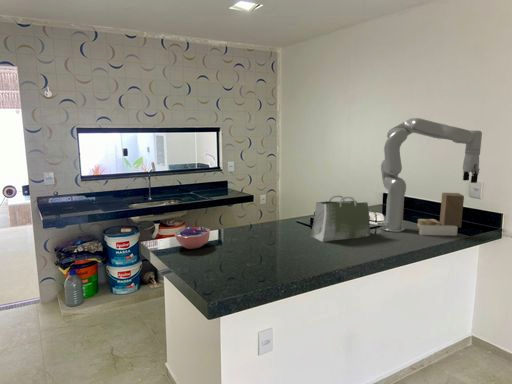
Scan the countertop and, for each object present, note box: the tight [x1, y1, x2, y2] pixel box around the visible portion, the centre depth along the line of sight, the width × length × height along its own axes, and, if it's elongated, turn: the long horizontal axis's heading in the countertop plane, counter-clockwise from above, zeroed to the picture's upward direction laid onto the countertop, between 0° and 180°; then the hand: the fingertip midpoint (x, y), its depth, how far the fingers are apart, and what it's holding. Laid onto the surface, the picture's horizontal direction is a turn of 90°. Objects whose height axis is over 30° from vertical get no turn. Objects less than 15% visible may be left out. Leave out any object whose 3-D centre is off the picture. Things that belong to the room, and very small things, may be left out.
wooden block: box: [439, 192, 465, 229], centre depth 236 cm, size 10×10×20 cm
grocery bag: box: [309, 195, 371, 243], centre depth 212 cm, size 32×14×23 cm, turn 113°
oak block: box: [417, 218, 441, 228], centre depth 230 cm, size 10×9×5 cm
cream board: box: [418, 225, 459, 237], centre depth 217 cm, size 20×3×5 cm, turn 86°
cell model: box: [174, 226, 211, 250], centre depth 193 cm, size 17×20×11 cm
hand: (469, 181), depth 222 cm, fingers open, 9 cm apart
